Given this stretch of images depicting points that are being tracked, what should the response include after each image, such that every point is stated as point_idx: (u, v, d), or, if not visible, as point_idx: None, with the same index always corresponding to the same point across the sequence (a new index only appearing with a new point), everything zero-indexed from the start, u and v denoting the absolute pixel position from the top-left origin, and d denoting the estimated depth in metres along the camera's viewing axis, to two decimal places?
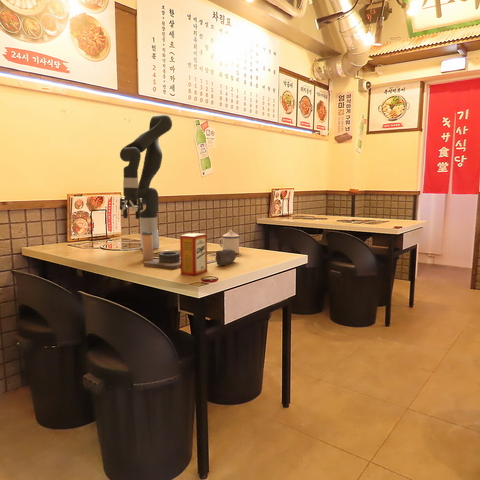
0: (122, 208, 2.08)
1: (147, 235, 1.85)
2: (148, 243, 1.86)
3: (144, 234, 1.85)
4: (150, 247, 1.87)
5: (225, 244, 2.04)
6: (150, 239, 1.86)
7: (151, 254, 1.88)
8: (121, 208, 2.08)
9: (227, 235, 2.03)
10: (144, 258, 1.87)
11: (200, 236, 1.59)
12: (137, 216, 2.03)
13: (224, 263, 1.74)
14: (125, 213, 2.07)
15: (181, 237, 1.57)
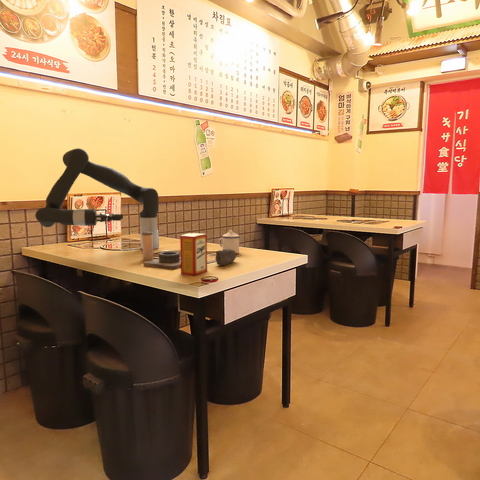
0: None
1: (147, 235, 1.85)
2: (148, 243, 1.86)
3: (144, 234, 1.85)
4: (150, 247, 1.87)
5: (225, 244, 2.04)
6: (150, 239, 1.86)
7: (151, 254, 1.88)
8: None
9: (227, 235, 2.03)
10: (144, 258, 1.87)
11: (200, 236, 1.59)
12: (118, 219, 1.79)
13: (224, 263, 1.74)
14: None
15: (181, 237, 1.57)
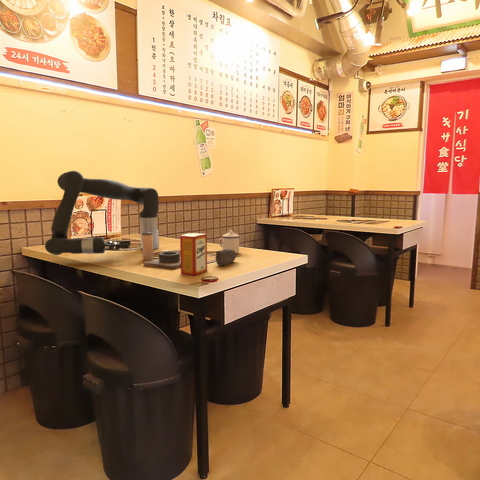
0: (119, 244, 1.91)
1: (147, 235, 1.85)
2: (148, 243, 1.86)
3: (144, 234, 1.85)
4: (150, 247, 1.87)
5: (225, 244, 2.04)
6: (150, 239, 1.86)
7: (151, 254, 1.88)
8: None
9: (227, 235, 2.03)
10: (144, 258, 1.87)
11: (200, 236, 1.59)
12: (126, 247, 1.82)
13: (224, 263, 1.74)
14: (124, 244, 1.90)
15: (181, 237, 1.57)
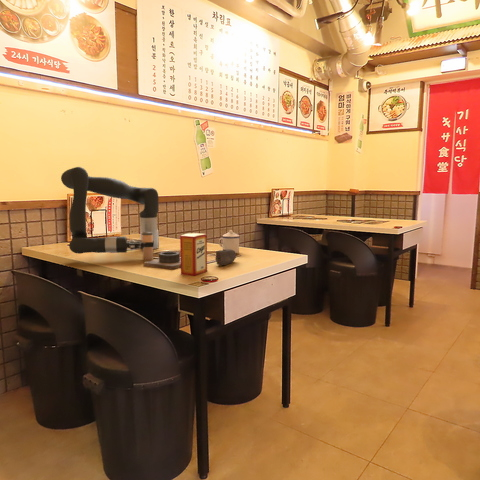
0: None
1: (147, 235, 1.85)
2: None
3: (144, 234, 1.85)
4: (150, 247, 1.87)
5: (225, 244, 2.04)
6: (150, 239, 1.86)
7: (151, 254, 1.88)
8: None
9: (227, 235, 2.03)
10: (144, 258, 1.87)
11: (200, 236, 1.59)
12: (150, 246, 1.85)
13: (224, 263, 1.74)
14: None
15: (181, 237, 1.57)
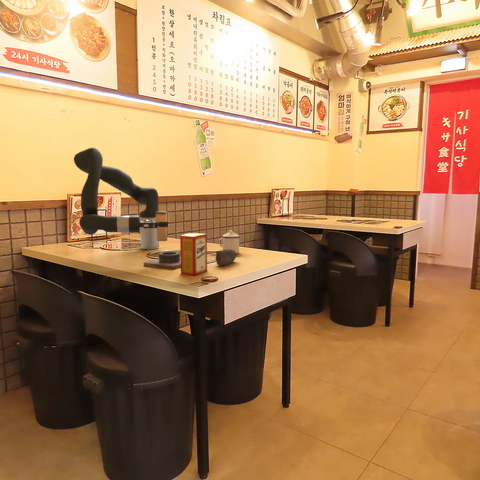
0: None
1: (161, 214, 1.75)
2: None
3: (158, 213, 1.75)
4: (164, 227, 1.76)
5: (225, 244, 2.04)
6: (164, 219, 1.76)
7: (165, 235, 1.77)
8: None
9: (227, 235, 2.03)
10: (158, 239, 1.77)
11: (200, 236, 1.59)
12: (165, 226, 1.75)
13: (224, 263, 1.74)
14: None
15: (181, 237, 1.57)
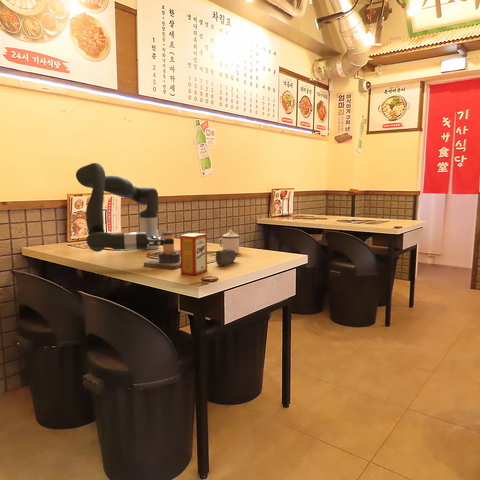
0: None
1: (168, 235, 1.74)
2: None
3: (165, 234, 1.74)
4: (171, 248, 1.75)
5: (225, 244, 2.04)
6: None
7: None
8: None
9: (227, 235, 2.03)
10: None
11: (200, 236, 1.59)
12: (170, 243, 1.72)
13: (224, 263, 1.74)
14: None
15: (181, 237, 1.57)
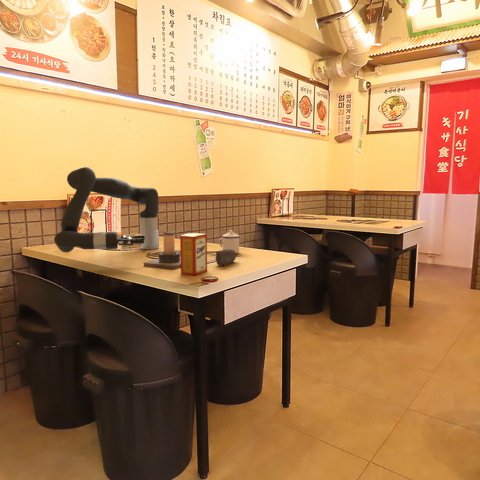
0: None
1: (169, 235, 1.74)
2: (170, 243, 1.75)
3: (166, 234, 1.74)
4: (172, 248, 1.75)
5: (225, 244, 2.04)
6: (172, 240, 1.75)
7: None
8: None
9: (227, 235, 2.03)
10: None
11: (200, 236, 1.59)
12: (141, 242, 1.70)
13: (224, 263, 1.74)
14: None
15: (181, 237, 1.57)
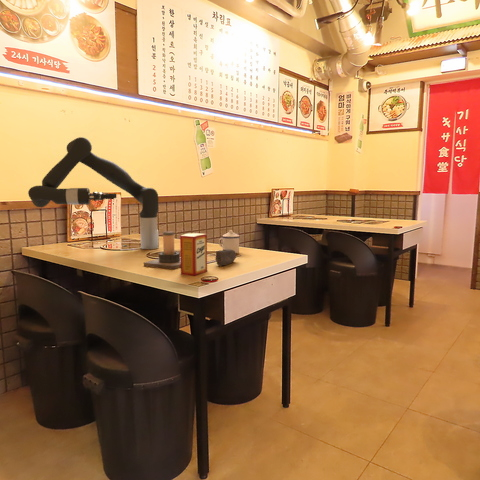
0: None
1: (169, 235, 1.74)
2: (170, 243, 1.74)
3: (165, 234, 1.74)
4: (172, 248, 1.75)
5: (225, 244, 2.04)
6: (172, 240, 1.75)
7: None
8: None
9: (227, 235, 2.03)
10: None
11: (200, 236, 1.59)
12: (111, 198, 1.79)
13: (224, 263, 1.74)
14: None
15: (181, 237, 1.57)
